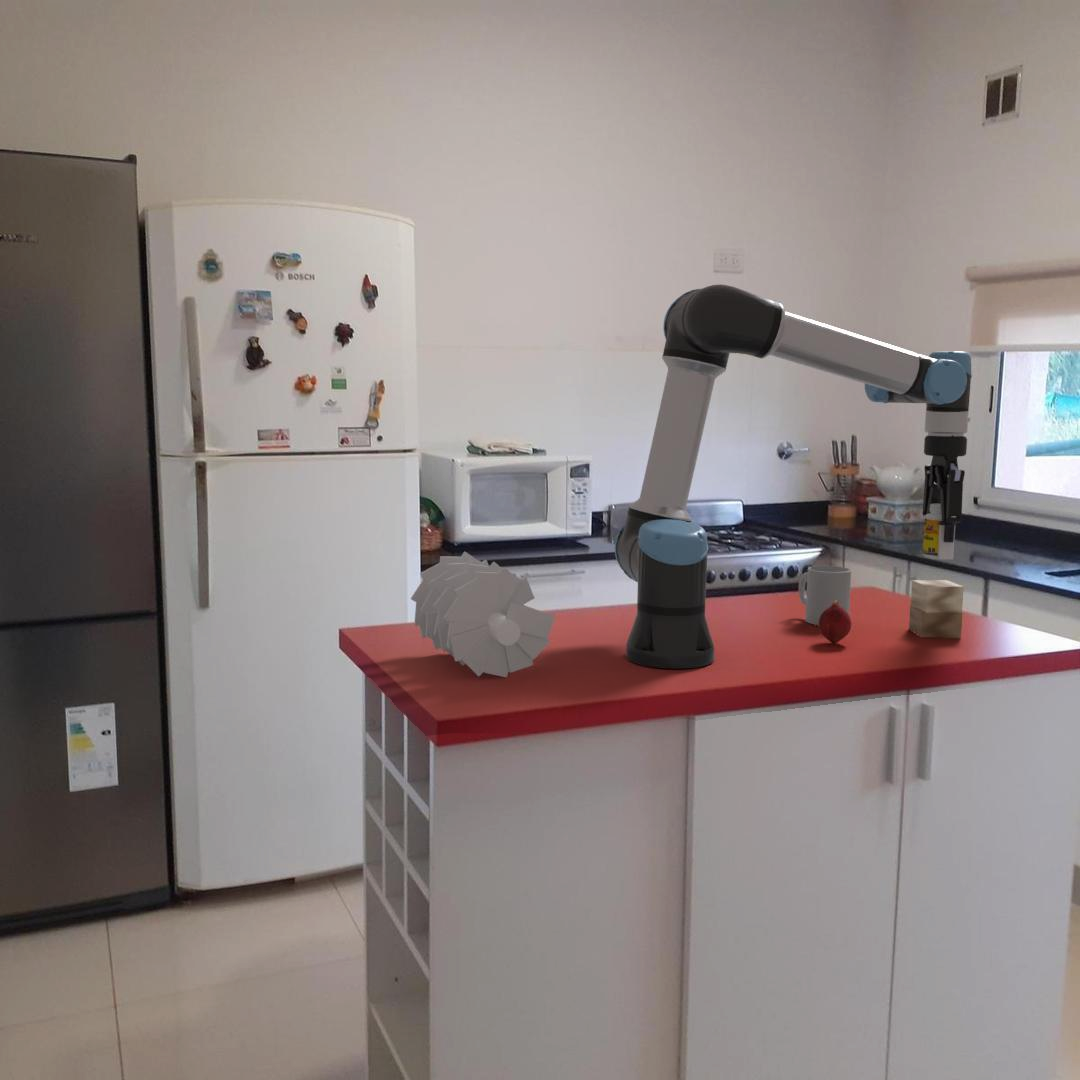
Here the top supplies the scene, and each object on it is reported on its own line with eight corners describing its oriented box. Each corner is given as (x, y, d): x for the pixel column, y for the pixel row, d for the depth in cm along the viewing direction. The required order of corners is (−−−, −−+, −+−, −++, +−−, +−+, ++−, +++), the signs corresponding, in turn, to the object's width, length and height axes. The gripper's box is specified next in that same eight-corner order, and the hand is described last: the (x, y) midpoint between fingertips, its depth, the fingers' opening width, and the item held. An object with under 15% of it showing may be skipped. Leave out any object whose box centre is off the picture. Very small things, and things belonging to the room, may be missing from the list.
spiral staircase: (480, 708, 172) (430, 664, 195) (573, 653, 178) (513, 616, 200) (434, 610, 166) (387, 576, 189) (532, 556, 171) (475, 528, 194)
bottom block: (920, 638, 208) (922, 612, 207) (908, 630, 215) (910, 604, 214) (960, 639, 207) (962, 613, 207) (947, 630, 215) (949, 605, 214)
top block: (926, 612, 207) (927, 586, 206) (910, 605, 214) (912, 580, 213) (961, 612, 207) (963, 586, 207) (945, 605, 214) (947, 580, 214)
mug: (858, 624, 219) (860, 570, 217) (827, 628, 214) (830, 573, 213) (813, 613, 229) (815, 561, 227) (783, 617, 224) (785, 565, 223)
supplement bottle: (917, 555, 212) (921, 502, 210) (946, 555, 212) (949, 503, 211) (928, 559, 206) (932, 505, 205) (958, 560, 206) (961, 506, 205)
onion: (851, 648, 198) (853, 604, 197) (818, 646, 199) (820, 603, 198) (849, 641, 204) (851, 598, 203) (817, 639, 205) (819, 597, 204)
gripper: (986, 436, 197) (978, 564, 200) (946, 432, 215) (939, 549, 218) (945, 436, 197) (938, 564, 200) (908, 432, 215) (902, 549, 218)
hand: (939, 556), depth 209 cm, fingers closed on supplement bottle, 6 cm apart
